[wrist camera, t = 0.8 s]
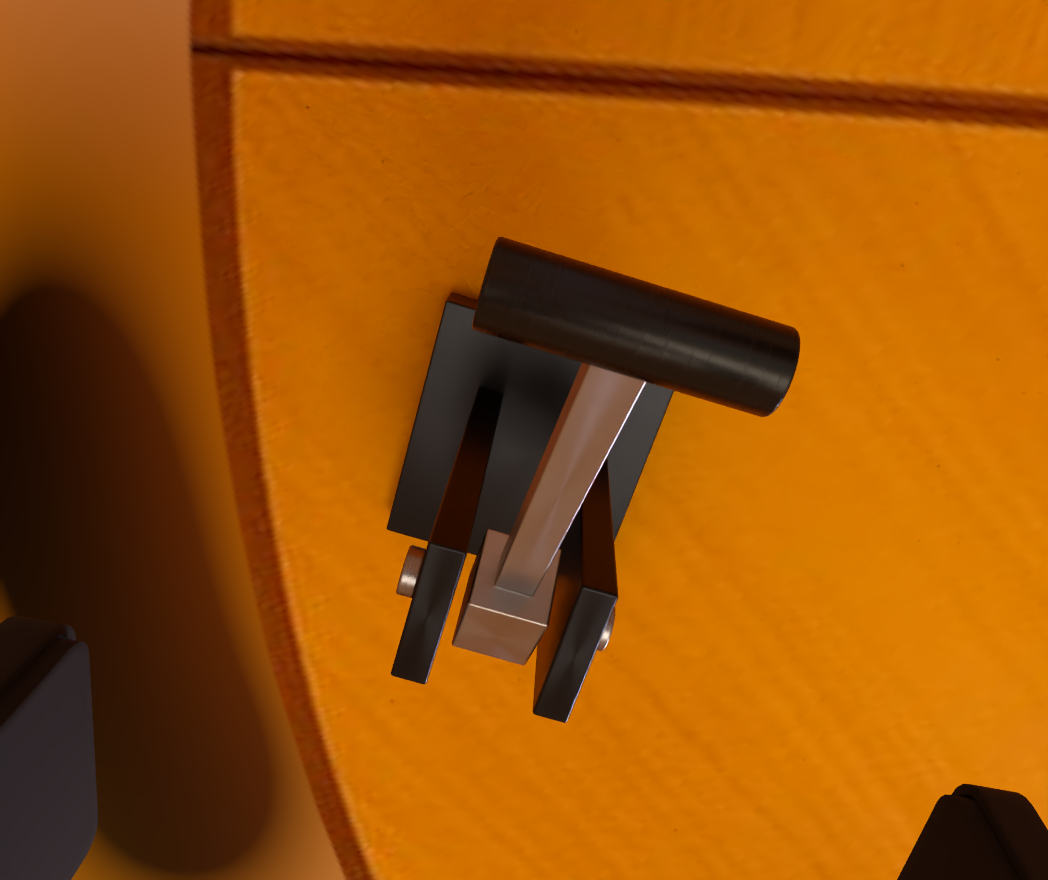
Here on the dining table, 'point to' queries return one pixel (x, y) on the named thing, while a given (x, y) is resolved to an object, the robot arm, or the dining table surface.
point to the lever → (598, 407)
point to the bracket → (508, 496)
